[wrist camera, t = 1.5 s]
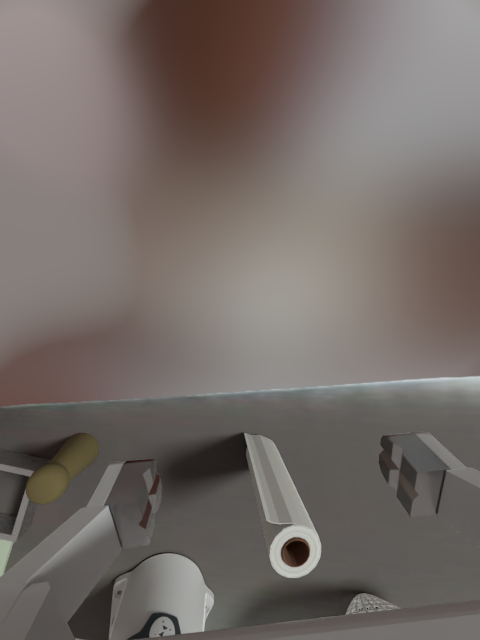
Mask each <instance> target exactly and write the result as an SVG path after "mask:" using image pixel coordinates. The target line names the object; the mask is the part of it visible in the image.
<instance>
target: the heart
mask: <svg viewBox="0 0 480 640" xmlns="http://www.w3.org/2000/svg"><path fill="white" fill-rule="evenodd" d="M365 596H366V597H365ZM364 599H366V600H364ZM368 599H369V600H368ZM373 599H374V600H373ZM363 603H364V604H363ZM365 603H367V605H365ZM380 603H381V604H380ZM358 604H359V605H358ZM361 604H362V605H361ZM368 604H369V605H368ZM369 607H371V609H369ZM375 607H378V609H376V608H375ZM386 607H387V608H386ZM391 607H392V608H391ZM361 608H363V610H361ZM367 608H368V609H367ZM393 608H394V609H401V608H399V607H397V606H395V605H393V604H391V603H389V602H387V601H385V600H383V599H381V598H379V597H376V596H374V595H370V594H366V593H361V594H358V595H356V596H355V597H354V598H353V600H352V601H351V603H350V605H349V607H348V609H347V612H346V614H345V615H349V614H358V613H367V612H375V611H384V610H393ZM359 609H360V611H359ZM353 611H354V612H353Z"/></svg>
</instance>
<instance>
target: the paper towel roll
mask: <svg viewBox="0 0 480 640" xmlns="http://www.w3.org/2000/svg"><path fill="white" fill-rule="evenodd" d="M244 436H245V440H246V444H247V449H246V457H247V462H248V466H249V471H250V475H251V479H252V484H253V488H254V493H255V497H256V501H257V506H258V510H259V514H260V519H261V523H262V528H263V532H264V536H265V541H266V545H267V550H268V554H269V558H270V561H271V564H272V567H273V568H274V569H275V570H276V571H277V572H278V574H280V575H283V576H285V577H287V578H299V577H301V576H304V575H306V574H308V573H309V572H310V571H311V570H312V569H313V568H315V567H316V565H317V563H318V561H319V559H320V556H321V543H320V540H319V536H318V534H317V532H316V530H315V528H314V526H313V524H312V522H311V520H310V517H309V515H308V513H307V511H306V509H305V507H304V505H303V503H302V501H301V498H300V496H299V494H298V492H297V490H296V488H295V486H294V484H293V481H292V479H291V477H290V475H289V473H288V471H287V469H286V467H285V465H284V462H283V460H282V458H281V456H280V454H279V452H278V450H277V448H276V446H275V444H274V443H273V441H272V440H270V439H268V438H266V437H264V436H261V435H249V434H246V433H244Z"/></svg>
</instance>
